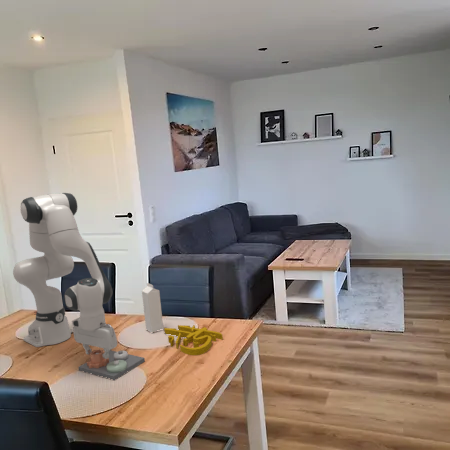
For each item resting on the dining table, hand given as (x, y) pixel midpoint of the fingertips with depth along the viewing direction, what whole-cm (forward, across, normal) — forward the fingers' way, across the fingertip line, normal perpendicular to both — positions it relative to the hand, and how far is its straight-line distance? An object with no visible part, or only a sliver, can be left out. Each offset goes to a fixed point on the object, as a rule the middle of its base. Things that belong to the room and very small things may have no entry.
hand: (97, 356), depth 164 cm
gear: (+3, 0, 0) cm, 3 cm away
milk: (+5, +5, -38) cm, 39 cm away
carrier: (+5, -4, -3) cm, 7 cm away
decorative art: (+5, -17, -34) cm, 38 cm away
